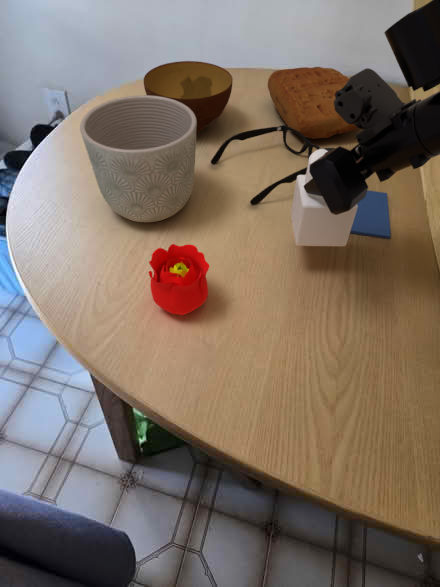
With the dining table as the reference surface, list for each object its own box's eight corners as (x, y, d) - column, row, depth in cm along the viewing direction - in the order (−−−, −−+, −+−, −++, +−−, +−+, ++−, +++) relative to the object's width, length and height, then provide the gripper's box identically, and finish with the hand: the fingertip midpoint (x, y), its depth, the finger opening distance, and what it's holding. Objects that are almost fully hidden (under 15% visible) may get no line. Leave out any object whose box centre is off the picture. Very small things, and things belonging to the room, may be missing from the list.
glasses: (332, 184, 80) (339, 160, 76) (253, 208, 74) (256, 183, 70) (282, 143, 89) (286, 120, 86) (207, 161, 83) (208, 137, 79)
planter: (158, 251, 66) (147, 165, 55) (79, 213, 72) (54, 128, 61) (217, 196, 76) (218, 113, 64) (143, 166, 82) (132, 85, 70)
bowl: (180, 157, 84) (177, 107, 76) (133, 122, 93) (126, 74, 85) (247, 130, 91) (250, 82, 84) (198, 100, 100) (197, 54, 92)
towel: (386, 195, 77) (387, 192, 76) (389, 239, 69) (390, 236, 69) (324, 187, 78) (325, 184, 78) (321, 229, 70) (322, 226, 70)
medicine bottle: (337, 215, 64) (357, 141, 55) (346, 247, 59) (369, 172, 50) (290, 214, 64) (302, 141, 55) (295, 247, 59) (309, 172, 50)
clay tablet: (261, 101, 100) (265, 65, 94) (329, 95, 103) (336, 59, 97) (295, 150, 86) (301, 112, 80) (371, 141, 89) (383, 103, 83)
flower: (143, 314, 58) (135, 273, 52) (167, 275, 63) (162, 234, 57) (196, 330, 56) (195, 290, 50) (217, 289, 61) (217, 249, 55)
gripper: (437, 29, 46) (330, 99, 59) (346, 81, 37) (243, 151, 50) (477, 123, 48) (365, 170, 62) (400, 194, 39) (288, 232, 53)
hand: (319, 178), depth 56 cm, fingers closed on medicine bottle, 6 cm apart
